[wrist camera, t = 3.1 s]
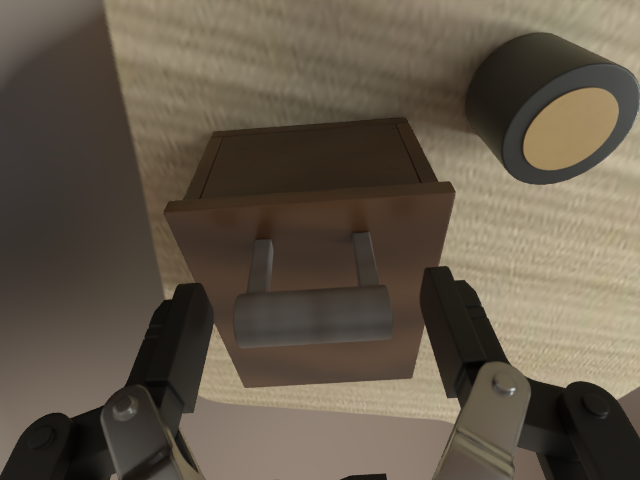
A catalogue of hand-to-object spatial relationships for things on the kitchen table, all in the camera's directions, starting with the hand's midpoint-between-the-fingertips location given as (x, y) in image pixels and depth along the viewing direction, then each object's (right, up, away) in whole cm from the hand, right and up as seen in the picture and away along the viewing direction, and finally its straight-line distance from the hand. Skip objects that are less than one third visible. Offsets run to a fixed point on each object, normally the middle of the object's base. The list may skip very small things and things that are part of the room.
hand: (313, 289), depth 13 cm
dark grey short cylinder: (+11, +10, +6) cm, 16 cm away
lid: (0, -2, +6) cm, 6 cm away
